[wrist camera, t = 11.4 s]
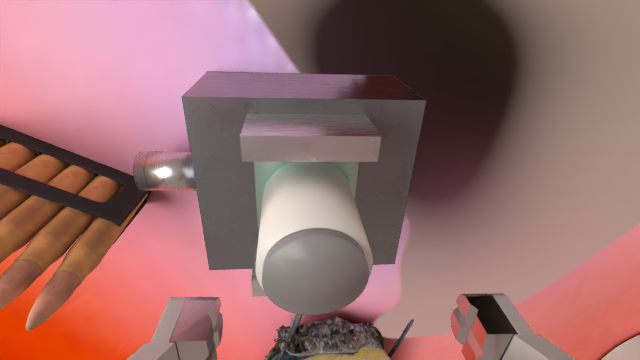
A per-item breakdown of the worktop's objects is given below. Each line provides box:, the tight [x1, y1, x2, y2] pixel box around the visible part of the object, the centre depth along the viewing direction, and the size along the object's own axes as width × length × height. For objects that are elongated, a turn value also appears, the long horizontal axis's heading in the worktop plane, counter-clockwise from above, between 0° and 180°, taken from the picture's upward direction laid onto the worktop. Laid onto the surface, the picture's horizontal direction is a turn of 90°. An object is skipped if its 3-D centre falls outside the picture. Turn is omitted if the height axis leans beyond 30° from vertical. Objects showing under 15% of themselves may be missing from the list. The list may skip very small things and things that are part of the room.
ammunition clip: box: [0, 125, 151, 331], centre depth 18 cm, size 11×2×12 cm, turn 60°
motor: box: [133, 71, 426, 296], centre depth 20 cm, size 16×11×9 cm
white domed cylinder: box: [255, 162, 373, 315], centre depth 16 cm, size 5×5×6 cm
